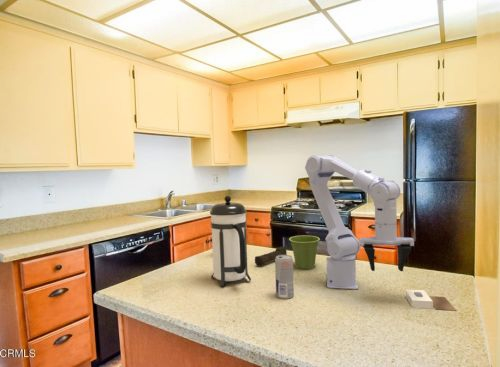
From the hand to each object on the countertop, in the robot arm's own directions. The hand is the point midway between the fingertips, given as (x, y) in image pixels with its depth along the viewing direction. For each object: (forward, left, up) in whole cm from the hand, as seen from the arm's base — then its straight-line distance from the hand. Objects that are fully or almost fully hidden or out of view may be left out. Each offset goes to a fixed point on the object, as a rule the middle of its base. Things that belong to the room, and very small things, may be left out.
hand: (386, 270), depth 94 cm
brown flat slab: (+14, -1, -8) cm, 16 cm away
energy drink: (-29, -2, -9) cm, 31 cm away
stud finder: (+8, -1, -9) cm, 12 cm away
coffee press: (-49, +8, -9) cm, 50 cm away
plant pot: (-25, +28, -9) cm, 39 cm away
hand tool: (-42, +29, -12) cm, 52 cm away
